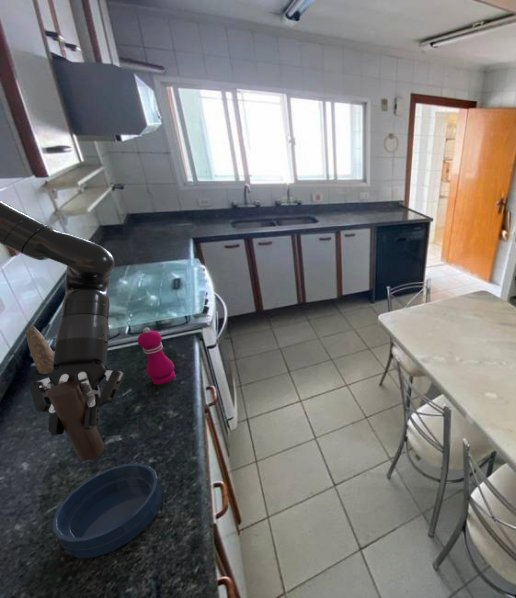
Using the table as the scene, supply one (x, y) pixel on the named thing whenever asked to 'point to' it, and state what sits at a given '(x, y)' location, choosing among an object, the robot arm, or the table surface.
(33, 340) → the tan tapered cone
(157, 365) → the pepper mill
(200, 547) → the table surface
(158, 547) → the table surface
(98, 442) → the brown cylinder
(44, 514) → the table surface
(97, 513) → the bowl
